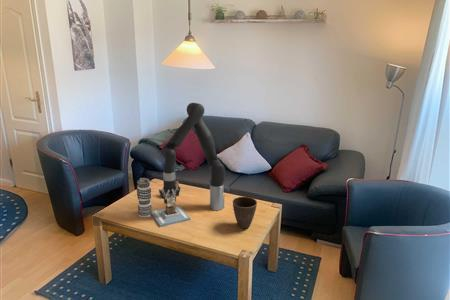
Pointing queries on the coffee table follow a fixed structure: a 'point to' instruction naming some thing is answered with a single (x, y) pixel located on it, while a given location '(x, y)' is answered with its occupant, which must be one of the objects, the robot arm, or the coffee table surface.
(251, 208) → the plant pot
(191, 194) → the coffee table surface
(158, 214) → the jig
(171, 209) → the block
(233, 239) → the coffee table surface
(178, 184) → the wooden block set
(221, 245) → the coffee table surface
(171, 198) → the block
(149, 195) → the grey stacked tower
